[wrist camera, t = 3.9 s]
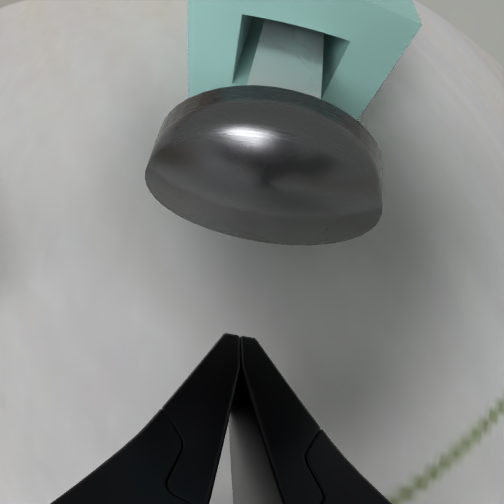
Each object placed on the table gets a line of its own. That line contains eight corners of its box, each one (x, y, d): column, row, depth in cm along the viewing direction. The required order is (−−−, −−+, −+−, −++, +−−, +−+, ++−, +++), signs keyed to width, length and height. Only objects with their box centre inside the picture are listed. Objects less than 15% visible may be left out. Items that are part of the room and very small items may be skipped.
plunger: (330, 256, 13) (432, 186, 7) (160, 222, 13) (122, 114, 6) (339, 57, 17) (382, -31, 10) (225, 30, 16) (238, -68, 9)
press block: (328, 161, 18) (422, 25, 8) (190, 131, 17) (188, -36, 7) (333, 40, 21) (379, -63, 11) (233, 17, 20) (250, -96, 10)
